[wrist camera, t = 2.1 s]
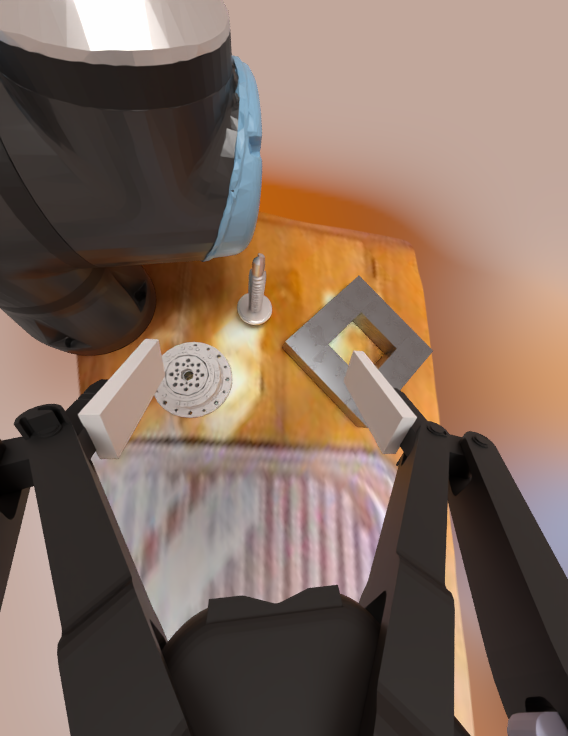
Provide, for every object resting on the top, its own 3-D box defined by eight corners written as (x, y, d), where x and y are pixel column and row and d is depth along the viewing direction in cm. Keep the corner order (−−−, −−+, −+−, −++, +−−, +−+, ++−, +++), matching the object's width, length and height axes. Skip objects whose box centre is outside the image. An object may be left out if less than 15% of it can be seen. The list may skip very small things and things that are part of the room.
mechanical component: (230, 417, 31) (234, 346, 33) (228, 417, 27) (232, 336, 29) (151, 417, 29) (159, 343, 31) (135, 418, 25) (146, 332, 27)
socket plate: (281, 347, 34) (285, 341, 31) (350, 286, 38) (358, 275, 35) (357, 426, 33) (368, 428, 30) (418, 355, 37) (433, 351, 35)
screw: (240, 331, 33) (235, 301, 34) (273, 327, 34) (267, 297, 35) (237, 281, 21) (229, 235, 22) (289, 277, 22) (279, 232, 23)
